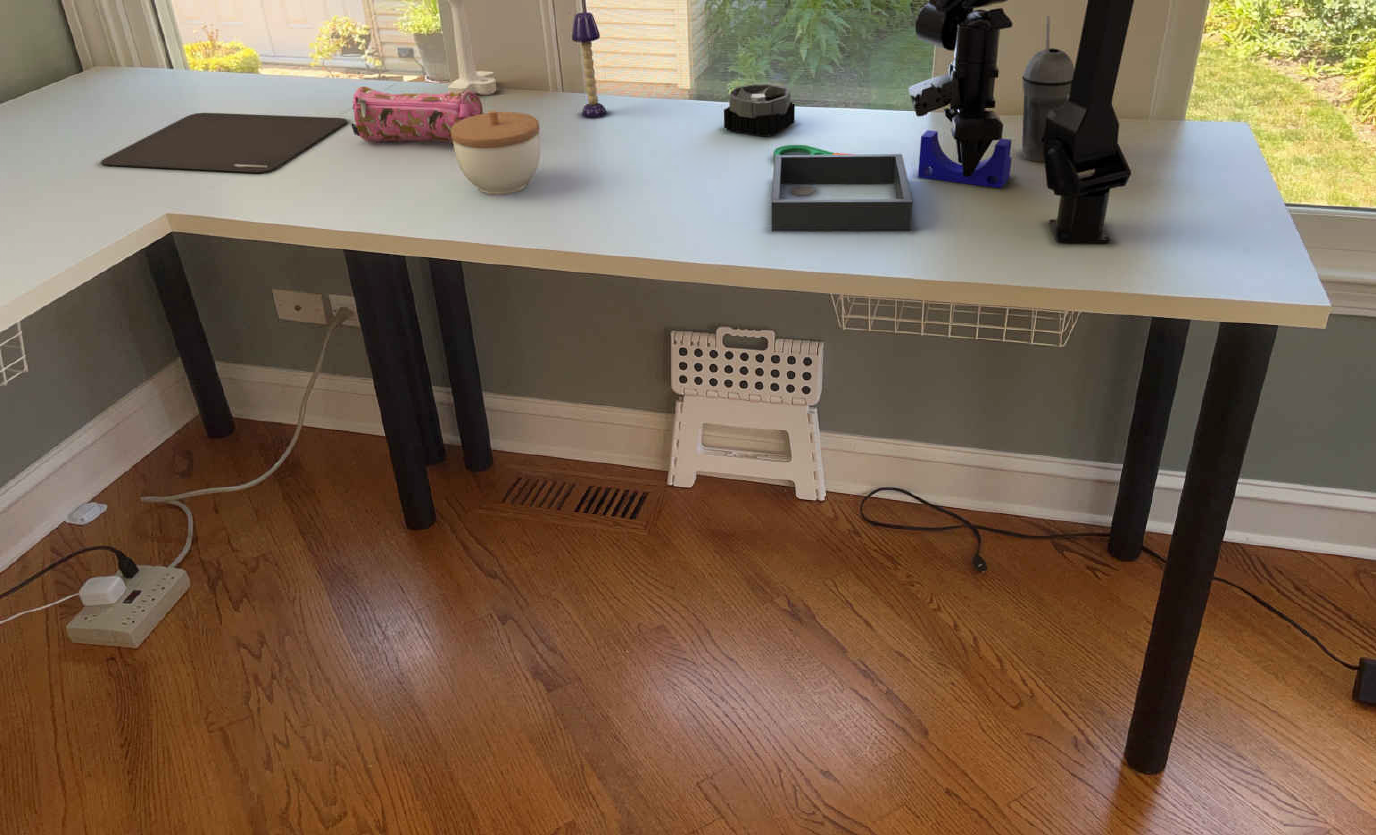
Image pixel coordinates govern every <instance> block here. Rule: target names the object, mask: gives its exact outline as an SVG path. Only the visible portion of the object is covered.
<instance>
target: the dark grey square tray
mask: <svg viewBox="0 0 1376 835" xmlns="http://www.w3.org/2000/svg"><path fill="white" fill-rule="evenodd" d="M772 172H773V174H772V187H771V189H772V190H771V203H770V204H771V207H770V208H771V210H770V211H771V217H770V218H771V226H770V227H771V228H770V229H771V230H770V231H771V232H910V231H911V229H912V228H911V227H912V215H913V214H912V212H913V198H912V194H911V189H910V185H909V180H908V176H907V171H906V166H905V163H904V157H903V154H902V153H879V154H878V153H876V154H872V153H870V154H869V153H868V154H867V153H865V154H858V155H809V154H784V155H775V156H774V155H773V171H772ZM838 184H839V185H843V184H844V185H849V184H850V185H853V184H856V185H860V184H868V185H869V184H870V185H871V184H873V185H874V184H893V188H894V192H895V197H896V198H871V199H870V198H861V199H860V198H859V199H858V198H857V199H856V198H847V199H846V198H844V199H843V198H842V199H840V198H839V199H838V198H837V199H826V198H825V199H817V198H816V199H781V196H782V185H838ZM813 192H814V191H813V189H812V188H810V187H806V186H805V187H804V186H801V187H795V188H793V189H791V194H792V195H795V196H801V197H802V196H803V197H804V196H809V195H812V194H813Z"/></svg>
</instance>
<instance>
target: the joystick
mask: <svg viewBox="0 0 1376 835" xmlns="http://www.w3.org/2000/svg"><path fill="white" fill-rule="evenodd" d="M446 1H447V2H448V3H449V5H450V7H451V13H452V14H451V15H452V22H453V23H452V24H453V32H454V41H455V48H456V49H455V50H456V59H457V68H458V70H457V71H458V78H457V79H456V80H454V81H452V82H451V83H450V84H449V85H448V86H447V88H448V90H447V91H448V93H451V92H456V93H461V92H463V91H471V92H473V93H475V94H477V95H478V96H491V95H493V94H495V92H496V91H497V83H496V79H495V75H494V71H485V72H484V71H482V70H477V69H476V63H475V58H474V53H473V48H472V42H471V37H470V31H469V26H468V21H467V20H468V19H467V14H466V9H465V3H466V1H467V0H446Z"/></svg>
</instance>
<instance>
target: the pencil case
mask: <svg viewBox="0 0 1376 835" xmlns="http://www.w3.org/2000/svg"><path fill="white" fill-rule="evenodd" d="M352 99H353V100H352V110H353V117H354V122H355V123H352V122H351V124H350V125H351V129H352V132H353V135H355V136H357V137H360V138H361V139H362V140H364V141H366V142H368V141H374V142H389V141H394V142H405V141H406V142H410V141H417V142H432V141H438V142H446V143H453V139H452V137H451V128H452V126H453V125H454V124H455V123H457V122H459V121H461V120H463V119H465V118H468V117H472V116H475V115H480V114H484V108H483V103H482V100H481V99H480V97H479V95H478V94H477V93H473V92H471V91H463V92H461V93H456V92H451V93H449V92H444V93H431V92H429V93H428V92H423V93H394V94H392V93H388V92H382V91H379V90H377V89H373V88H370V87H368V86H360V87H357V89H356V90H355V93H353V98H352ZM453 144H454V143H453Z"/></svg>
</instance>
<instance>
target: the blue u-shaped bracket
mask: <svg viewBox="0 0 1376 835" xmlns="http://www.w3.org/2000/svg"><path fill="white" fill-rule="evenodd" d="M1012 141H1013V140H1012V139H1010V138H1009V139H1008V138H1002V139H1000V140H997V142H996V144H994V150H993V153H992V155H991V156H990V157H989V158H986V159H984V160H982V161H980V162H979V164H978V165H977V167H976V169H975V170H974V172H973V174H972V175H971V176H970V177H965V176H963V170H962V164H961V163H957V162H955V161H953V160H952V159H950V158H949V157H948V156H947V155H946V153H945V152H944V151H943V149H942V146H941V144H940V141H939V131H938V130H931V129H930V130H929V129H927V130H926V131H925V132H924V133H922V134H921V136H920V147H919V157H918V158H919V160H918V170H917V171H918V173H917V177H918V178H922V179H929V180H935V181H944V182H951V183H960V184H966V185H967V184H968V185H976V186H980V187H981V186H982V187H989V188H996V189H997V188H998V189H1002V188H1003V187H1004V186H1005V184H1006V183H1007V182H1008V180H1009V179H1010V174H1011V167H1012V158H1013V157H1011V149H1012Z"/></svg>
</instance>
